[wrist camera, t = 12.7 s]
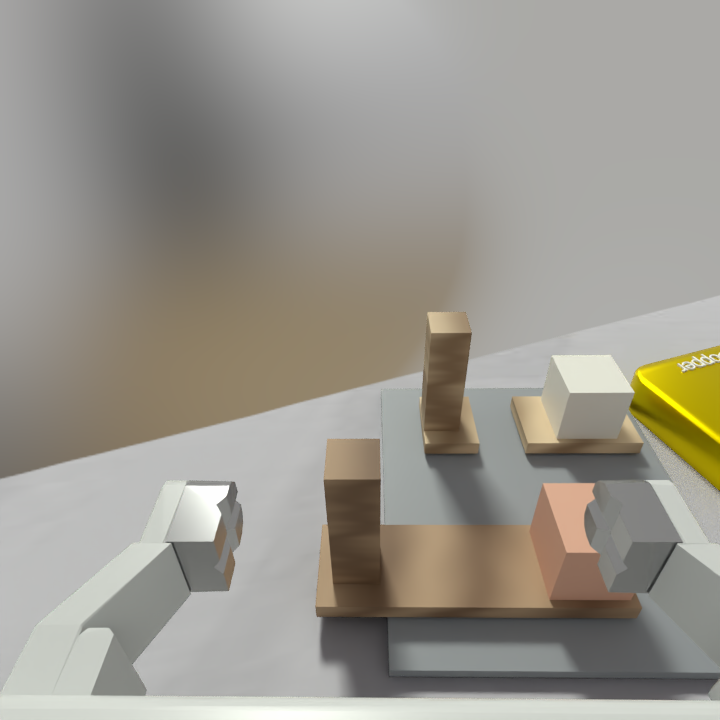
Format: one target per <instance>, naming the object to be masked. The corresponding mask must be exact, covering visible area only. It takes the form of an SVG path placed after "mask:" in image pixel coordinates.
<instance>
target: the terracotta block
mask: <svg viewBox="0 0 720 720" xmlns="http://www.w3.org/2000/svg"><path fill="white" fill-rule="evenodd" d="M594 485H595V483H543V484H542V488H541V491H540V495H539V498H538V502H537V505H536V509H535V512H534V516H533V519H532V523H531V526H530V530H529V532H530V535H531V539H532V542H533V546H534V549H535V553H536V556H537V560H538V563H539V566H540V570H541V573H542V577H543V580H544V584H545V587H546V591H547V594H548V597H549V600H631V599H632V597H633V595H634V593H617V592H608V590H607V587H606V585H605V582H604V580H603V577H602V575H601V572H600V570H599V567H598V565H597V564H598V561H599V558H600V556H601V555H600V554H599V553H598V552H597V551H595V550H594V549H593V548H592V547H591V546H590V544H589V542H588V539H587V536H586V532H585V527H584V513H585V510H586V507H587V504H588V503H590V502H591V501H593V500H594V499H595V497H594V495H593V492H592V490H593V488H594Z"/></svg>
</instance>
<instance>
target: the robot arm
mask: <svg viewBox="0 0 720 720" xmlns="http://www.w3.org/2000/svg"><path fill="white" fill-rule="evenodd" d="M237 492H238V491H237V488H236V484H235V482H226V481H170V480H168V481H167V482H166V483H165V484H164V485H163V487H162V489H161V491H160V494H159V496H158V498H157V501H156V503H155V506H154V508H153V511H152V513H151V515H150V518H149V520H148V523H147V525H146V527H145V530H144V532H143V535H142V537H141V540H140V542H139V543H132V544H131V545H130V546H128V547H127V548H126V549H125V550H124V551H122V552H121V553H120V554H119V555H118V556H117V557H115V558H114V559H113V560H112V561H111V562H110V563H108V564H107V565H106V566H105V567H104V568H102V569H101V570H100V571H99V572H98V573H97V574H95V575H94V576H93V577H92V578H91V579H90V580H88V581H87V582H86V583H85V584H84V585H82V586H81V587H80V588H79V589H78V590H77V591H75V592H74V593H73V594H72V595H71V596H70V597H68V598H67V599H66V600H65V601H64V602H62V603H61V604H60V605H59V606H58V607H57V608H55V609H54V610H53V611H52V612H51V613H50V614H48V615H47V616H46V617H45V618H44V619H42V620H41V621H40V622H39V623H38V624H37V625H36V626H35V628H34V630H33V631H32V633H31V635H30V637H29V639H28V641H27V643H26V645H25V647H24V649H23V651H22V652H21V654H20V656H19V658H18V660H17V662H16V664H15V666H14V668H13V670H12V672H11V674H10V675H9V677H8V679H7V681H6V683H5V685H4V687H3V689H2V691H1V693H0V720H720V678H719V679H718V681H717V682H716V683H715V684H714V685H713V686H712V688H711V689H710V691H709V693H708V695H709V697H710V699H711V700H605V699H487V698H366V697H238V696H145V694H146V691H147V690H146V688H145V686H144V684H143V682H142V680H141V679H140V677H139V675H138V674H137V672H136V670H135V669H134V667H133V665H132V664H133V663H134V662H135V660H136V659H137V658H138V657H139V656H140V654H141V653H142V652H143V651H144V650H145V648H146V647H147V646H148V645H149V644H150V643H151V641H152V640H153V639H154V638H155V637H156V635H157V634H158V633H159V632H160V631H161V629H162V628H163V627H164V626H165V625H166V623H167V622H168V621H169V620H170V619H171V617H172V616H173V615H174V614H175V613H176V611H177V610H178V609H179V608H180V607H181V605H182V604H183V603H184V602H185V601H186V600H187V598H188V597H189V596H190V595H191V593H190V592H207V591H229V588H230V584H231V579H232V575H233V571H234V567H235V561H234V557H233V553H232V552H233V551H234V550H235V549H236V548H237V547H238V546H239V545H240V540H241V536H242V526H243V515H242V508H241V504H239V503H238V502H237V501H236V496H237ZM592 492H593V495H594V497H595V499H594V500H593V501H591V502H590V503H588V504H587V507H586V510H585V513H584V527H585V532H586V536H587V539H588V542H589V544H590V546H591V547H592V548H593V549H594V550H595V551H597V552H598V553H599V554H600V555H601V556H600V558H599V561H598V564H597V565H598V567H599V570H600V572H601V575H602V577H603V580H604V582H605V585H606V587H607V590H608V592H617V593H649V594H648V596H649V597H650V598H651V599H652V600H653V601H654V602H655V603H656V604H657V605H658V606H659V607H660V608H661V609H662V610H663V611H664V612H665V613H666V614H667V615H668V616H669V617H670V618H671V619H672V620H673V621H674V622H675V623H676V624H677V625H678V626H679V627H680V628H681V629H682V630H683V631H684V632H685V633H686V634H687V635H688V636H689V637H690V638H691V639H692V640H693V641H694V642H695V643H696V644H697V645H698V647H699V648H700V649H701V650H702V651H703V652H704V653H705V654H706V655H707V656H708V657H709V658H710V659H711V660H712V661H713V662H714V663H715V664H716V665H717V666H718V667H719V668H720V545H719V544H716V543H710V542H709V540H708V538H707V537H706V535H705V534H704V532H703V530H702V529H701V527H700V525H699V524H698V522H697V521H696V519H695V517H694V516H693V514H692V513H691V511H690V509H689V508H688V506H687V504H686V503H685V501H684V500H683V498H682V496H681V495H680V493H679V492H678V490H677V488H676V487H675V485H674V484H673V483H672V482H671V481H669V480H599V481H598V482H597V483H595V485H594V488H593V490H592Z"/></svg>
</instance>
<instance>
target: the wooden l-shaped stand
mask: <svg viewBox="0 0 720 720" xmlns="http://www.w3.org/2000/svg"><path fill="white" fill-rule="evenodd" d="M380 485H381V478H380V439H327V449H326V460H325V471H324V488H325V500H326V511H327V522H328V525H322V536H321V548H320V560H319V571H318V583H317V595H316V606H315V607H316V615H317V617H469V618H637V617H638V615H639V613H640V612H641V610H642V606H641V604H640V602H639V599H638V597H637V595H636V593H634V595H633V597H632V599H631V600H549V597H548V594H547V591H546V587H545V584H544V580H543V577H542V573H541V570H540V566H539V563H538V560H537V556H536V553H535V549H534V546H533V542H532V539H531V535H530V532H529V530H530V526H531V525H380Z"/></svg>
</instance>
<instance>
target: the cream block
mask: <svg viewBox="0 0 720 720" xmlns="http://www.w3.org/2000/svg"><path fill="white" fill-rule="evenodd" d="M634 393H635V392H634V391H633V389H632V388H631V386H630V384H629V383H628V381H627V380H626V378H625V377H624V375H623V374H622V372H621V370H620V369H619V367H618V366H617V364H616V363H615V361H614V360H613V358H612V356H611V355H552V356H551V360H550V364H549V368H548V372H547V377H546V381H545V385H544V389H543V393H542V397H541V402H542V404H543V407H544V409H545V412H546V414H547V416H548V419H549V421H550V424H551V426H552V429H553V431H554V434H555V436H556V438H557V439H617V438H618V435H619V432H620V430H621V427H622V425H623V422H624V419H625V417H626V414H627V412H628V409H629V406H630V404H631V401H632V399H633V396H634Z"/></svg>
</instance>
